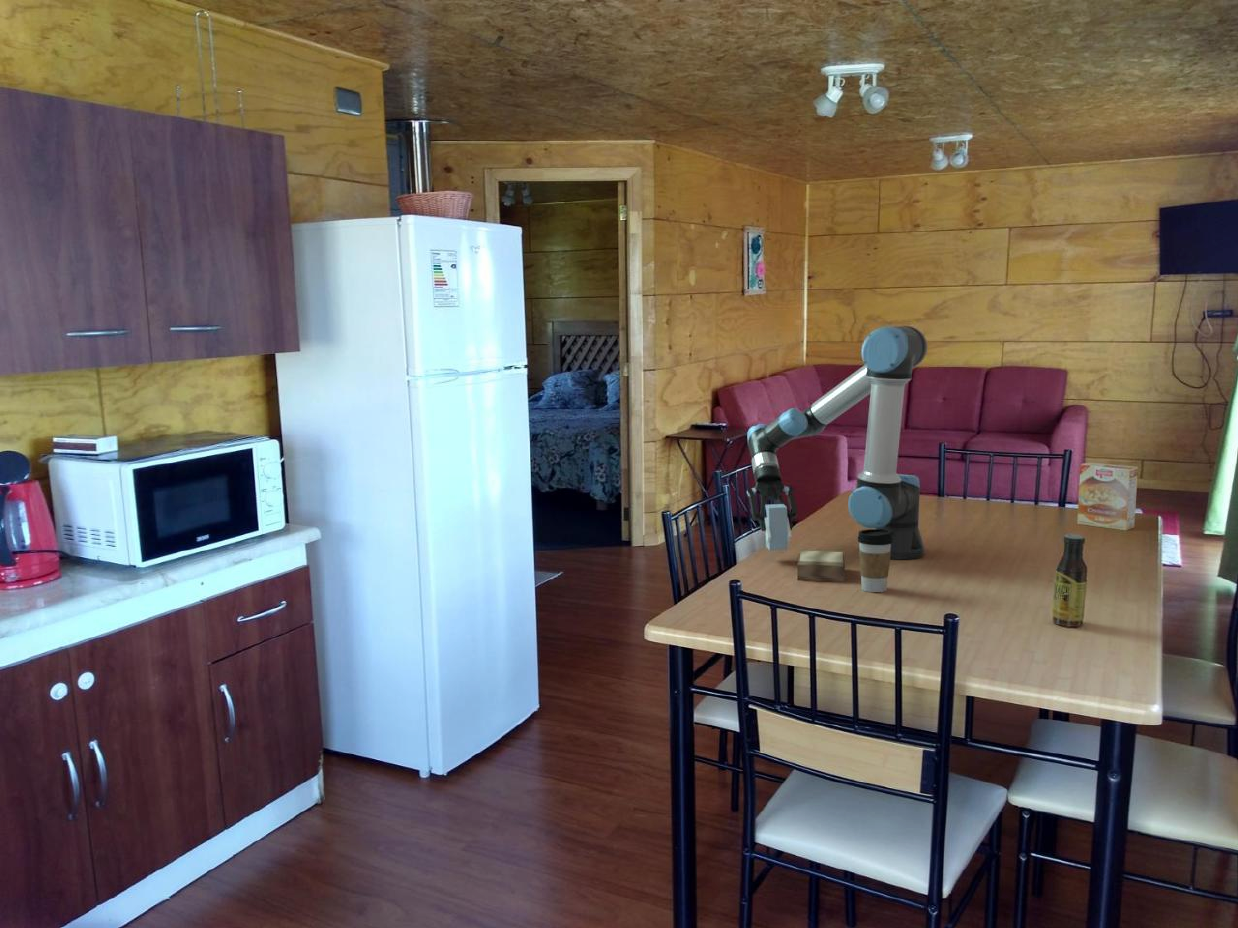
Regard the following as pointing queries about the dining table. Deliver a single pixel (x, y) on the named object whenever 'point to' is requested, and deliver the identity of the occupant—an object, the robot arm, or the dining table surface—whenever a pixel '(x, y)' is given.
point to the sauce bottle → (1070, 584)
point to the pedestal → (821, 566)
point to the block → (777, 526)
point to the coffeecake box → (1107, 495)
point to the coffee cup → (874, 558)
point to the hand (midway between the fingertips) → (779, 539)
